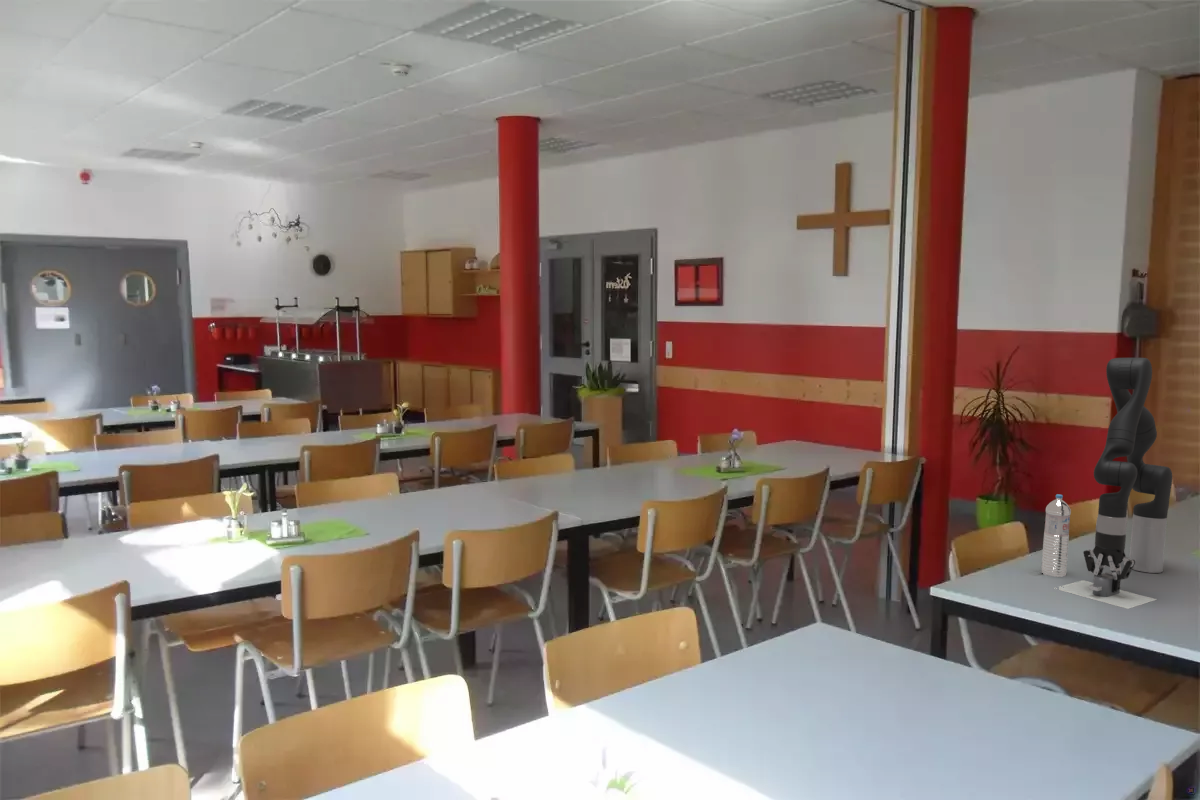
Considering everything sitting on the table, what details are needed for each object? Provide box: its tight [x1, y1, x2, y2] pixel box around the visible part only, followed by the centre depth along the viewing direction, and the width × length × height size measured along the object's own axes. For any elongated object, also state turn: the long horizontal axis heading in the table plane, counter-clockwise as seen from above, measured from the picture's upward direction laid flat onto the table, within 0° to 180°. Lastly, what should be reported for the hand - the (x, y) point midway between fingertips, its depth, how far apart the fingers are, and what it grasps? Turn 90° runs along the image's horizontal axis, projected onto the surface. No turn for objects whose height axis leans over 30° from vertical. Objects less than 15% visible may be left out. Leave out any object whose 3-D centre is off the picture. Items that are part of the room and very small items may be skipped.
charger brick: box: [1089, 572, 1122, 597], centre depth 261 cm, size 12×4×5 cm, turn 124°
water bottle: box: [1041, 493, 1072, 578], centre depth 279 cm, size 7×7×25 cm
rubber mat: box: [1053, 579, 1157, 610], centre depth 261 cm, size 16×21×1 cm
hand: (1106, 589), depth 262 cm, fingers closed on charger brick, 4 cm apart
